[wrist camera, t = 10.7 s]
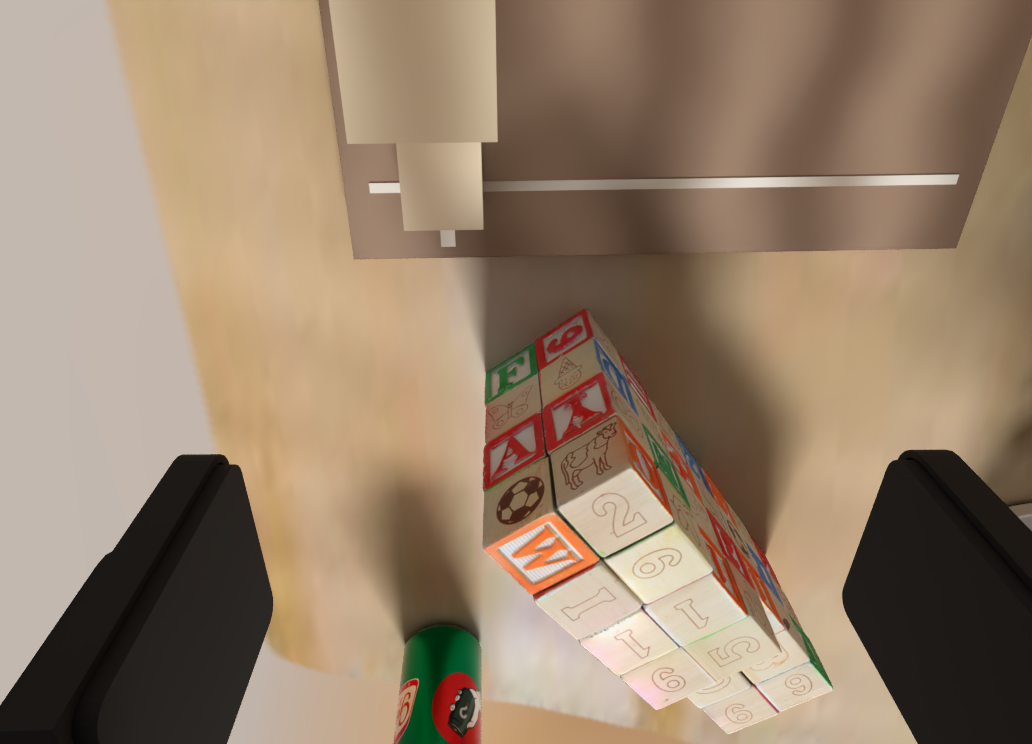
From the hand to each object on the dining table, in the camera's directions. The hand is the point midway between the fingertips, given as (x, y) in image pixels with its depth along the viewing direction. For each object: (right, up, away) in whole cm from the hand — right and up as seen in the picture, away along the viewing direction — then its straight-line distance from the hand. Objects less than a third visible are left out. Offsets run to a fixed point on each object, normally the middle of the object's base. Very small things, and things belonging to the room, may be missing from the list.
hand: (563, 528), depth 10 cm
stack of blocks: (+6, -3, +28) cm, 29 cm away
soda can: (-6, -16, +35) cm, 38 cm away
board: (+5, +14, +17) cm, 23 cm away
